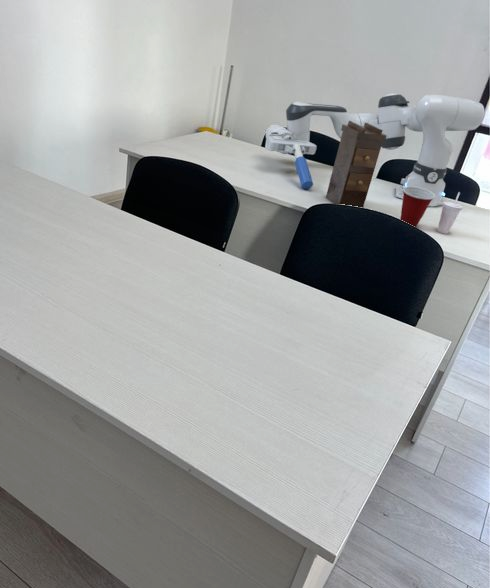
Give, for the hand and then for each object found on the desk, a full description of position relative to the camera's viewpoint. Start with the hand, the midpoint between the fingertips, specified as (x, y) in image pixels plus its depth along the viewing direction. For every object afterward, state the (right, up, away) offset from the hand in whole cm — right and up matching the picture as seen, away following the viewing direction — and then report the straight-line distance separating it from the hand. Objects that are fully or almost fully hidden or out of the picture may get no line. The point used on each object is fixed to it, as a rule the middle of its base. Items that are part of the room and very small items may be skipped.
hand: (298, 151), depth 227 cm
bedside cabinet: (+15, -23, -13) cm, 31 cm away
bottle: (0, -7, -1) cm, 7 cm away
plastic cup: (+34, -34, -25) cm, 55 cm away
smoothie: (+46, -37, -26) cm, 64 cm away
